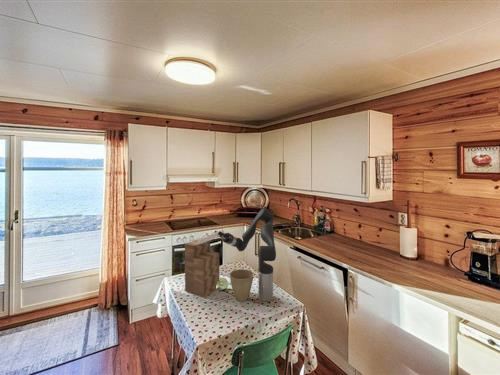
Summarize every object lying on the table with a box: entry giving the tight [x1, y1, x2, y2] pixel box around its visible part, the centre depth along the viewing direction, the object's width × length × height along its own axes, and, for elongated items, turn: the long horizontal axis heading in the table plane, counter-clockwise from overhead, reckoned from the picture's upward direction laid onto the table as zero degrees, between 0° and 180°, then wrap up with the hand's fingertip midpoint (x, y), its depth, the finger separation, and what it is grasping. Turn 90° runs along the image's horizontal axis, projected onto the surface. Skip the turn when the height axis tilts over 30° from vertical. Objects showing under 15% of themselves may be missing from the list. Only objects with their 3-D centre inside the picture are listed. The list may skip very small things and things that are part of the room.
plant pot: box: [229, 268, 255, 303], centre depth 154 cm, size 15×15×16 cm
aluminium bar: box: [197, 229, 225, 244], centre depth 165 cm, size 24×3×3 cm, turn 149°
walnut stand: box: [184, 238, 220, 299], centre depth 165 cm, size 16×16×32 cm
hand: (216, 232), depth 170 cm, fingers closed on aluminium bar, 3 cm apart
